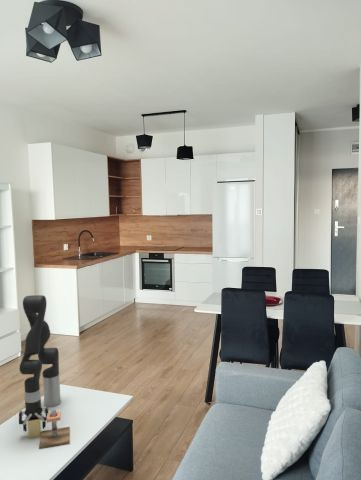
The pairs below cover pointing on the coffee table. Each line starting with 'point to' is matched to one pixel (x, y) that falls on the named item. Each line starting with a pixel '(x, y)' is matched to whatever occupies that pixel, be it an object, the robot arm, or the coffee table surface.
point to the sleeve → (34, 428)
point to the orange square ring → (51, 419)
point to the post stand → (54, 435)
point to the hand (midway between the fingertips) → (34, 429)
